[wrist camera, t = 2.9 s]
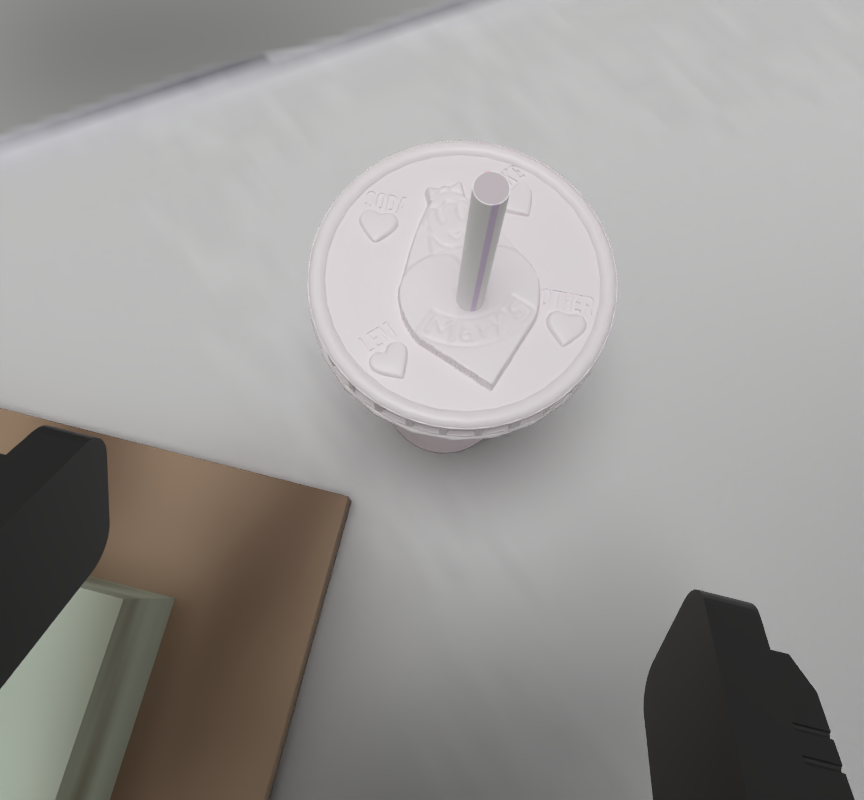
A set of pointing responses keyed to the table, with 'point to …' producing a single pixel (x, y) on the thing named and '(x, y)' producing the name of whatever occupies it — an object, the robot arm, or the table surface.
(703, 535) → the table surface
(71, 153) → the table surface
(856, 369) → the table surface
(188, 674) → the plinth
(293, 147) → the table surface
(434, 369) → the smoothie
